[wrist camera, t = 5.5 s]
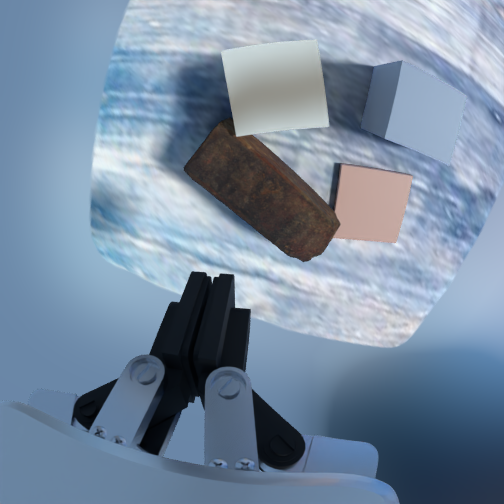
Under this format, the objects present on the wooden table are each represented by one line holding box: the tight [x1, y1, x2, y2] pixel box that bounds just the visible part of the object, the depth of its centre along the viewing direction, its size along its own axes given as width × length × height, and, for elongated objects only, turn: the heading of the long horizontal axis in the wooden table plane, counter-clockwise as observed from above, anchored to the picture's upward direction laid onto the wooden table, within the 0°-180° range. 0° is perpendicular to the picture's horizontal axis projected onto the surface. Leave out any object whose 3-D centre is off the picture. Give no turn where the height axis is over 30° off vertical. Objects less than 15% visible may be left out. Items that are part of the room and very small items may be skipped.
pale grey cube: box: [221, 40, 329, 137], centre depth 14 cm, size 5×5×5 cm
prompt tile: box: [333, 163, 413, 243], centre depth 20 cm, size 6×6×1 cm
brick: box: [184, 117, 341, 262], centre depth 18 cm, size 11×4×5 cm, turn 49°
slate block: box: [360, 60, 467, 166], centre depth 14 cm, size 5×5×5 cm
